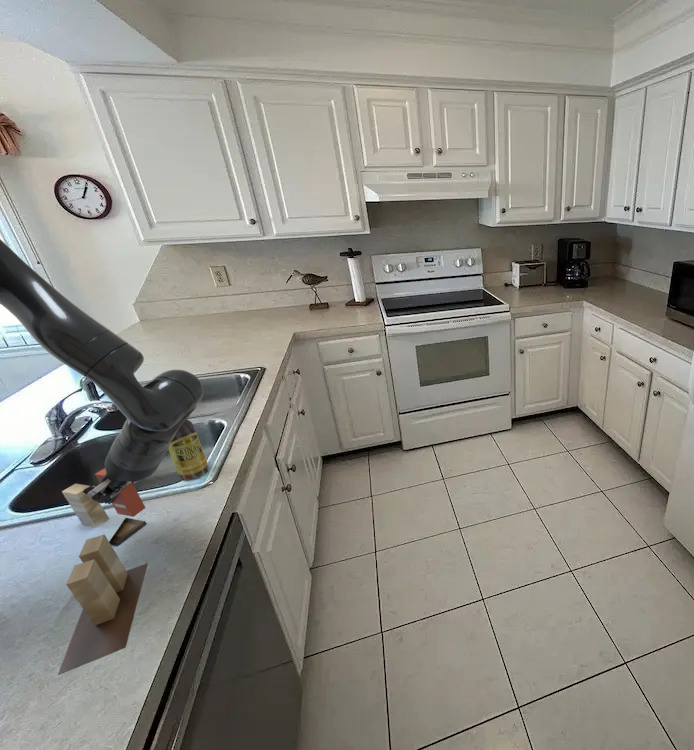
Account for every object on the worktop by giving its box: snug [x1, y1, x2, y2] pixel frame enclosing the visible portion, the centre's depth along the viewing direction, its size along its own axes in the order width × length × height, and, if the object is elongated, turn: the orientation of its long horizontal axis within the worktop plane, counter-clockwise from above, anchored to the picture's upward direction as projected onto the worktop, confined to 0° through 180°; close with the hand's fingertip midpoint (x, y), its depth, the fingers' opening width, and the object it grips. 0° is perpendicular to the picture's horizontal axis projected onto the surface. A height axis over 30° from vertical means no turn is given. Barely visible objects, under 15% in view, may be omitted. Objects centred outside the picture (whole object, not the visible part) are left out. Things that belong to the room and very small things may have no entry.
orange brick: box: [94, 467, 146, 518], centre depth 80 cm, size 3×4×10 cm, turn 77°
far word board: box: [61, 483, 147, 547], centre depth 85 cm, size 6×12×11 cm, turn 77°
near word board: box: [57, 534, 148, 676], centre depth 67 cm, size 8×18×11 cm, turn 29°
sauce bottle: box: [168, 418, 209, 481], centre depth 99 cm, size 6×6×20 cm
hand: (115, 494), depth 81 cm, fingers closed on orange brick, 2 cm apart
